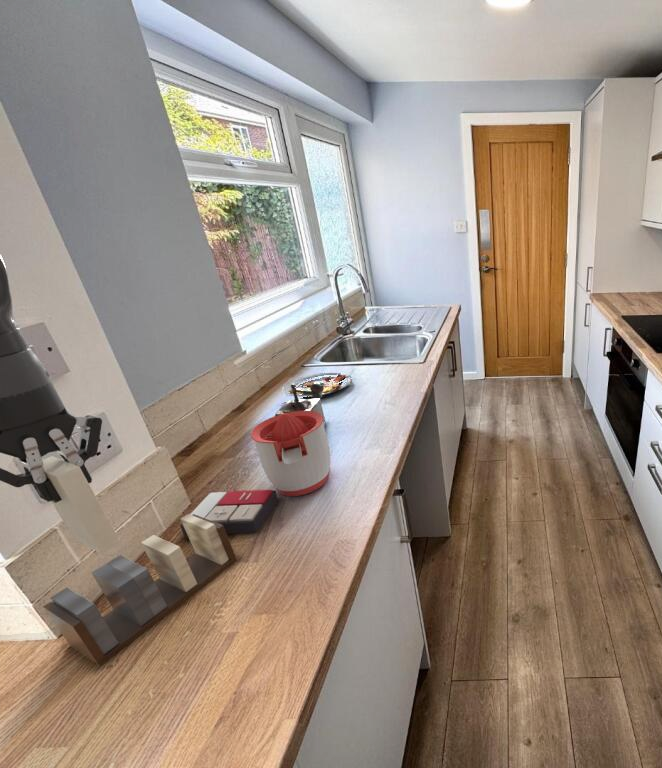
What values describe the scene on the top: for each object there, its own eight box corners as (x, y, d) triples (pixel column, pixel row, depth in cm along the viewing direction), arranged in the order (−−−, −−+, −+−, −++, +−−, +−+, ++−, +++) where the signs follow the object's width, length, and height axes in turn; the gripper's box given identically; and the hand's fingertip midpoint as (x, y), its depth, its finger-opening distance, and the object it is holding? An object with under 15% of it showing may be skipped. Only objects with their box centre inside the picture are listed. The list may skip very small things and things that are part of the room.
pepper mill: (280, 443, 122) (263, 389, 115) (294, 425, 132) (279, 374, 125) (333, 439, 123) (320, 385, 116) (342, 421, 133) (331, 371, 126)
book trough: (69, 645, 65) (39, 601, 61) (208, 547, 84) (192, 509, 80) (100, 666, 62) (69, 622, 58) (237, 560, 80) (221, 521, 77)
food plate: (361, 377, 170) (359, 369, 169) (337, 401, 149) (335, 392, 147) (303, 377, 171) (301, 370, 170) (271, 401, 150) (269, 393, 149)
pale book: (73, 539, 64) (28, 464, 58) (93, 528, 66) (52, 455, 60) (100, 553, 61) (55, 476, 55) (121, 541, 63) (79, 466, 57)
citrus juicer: (268, 515, 92) (242, 440, 84) (271, 475, 107) (249, 408, 99) (340, 494, 99) (323, 422, 91) (334, 459, 113) (318, 394, 105)
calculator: (252, 519, 86) (177, 522, 85) (257, 535, 88) (183, 538, 86) (275, 487, 96) (209, 489, 95) (279, 501, 98) (213, 504, 96)
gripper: (64, 365, 60) (114, 463, 67) (-90, 405, 48) (-11, 518, 55) (90, 371, 57) (139, 472, 64) (-67, 414, 45) (14, 533, 52)
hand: (69, 493), depth 59 cm, fingers closed on pale book, 2 cm apart
